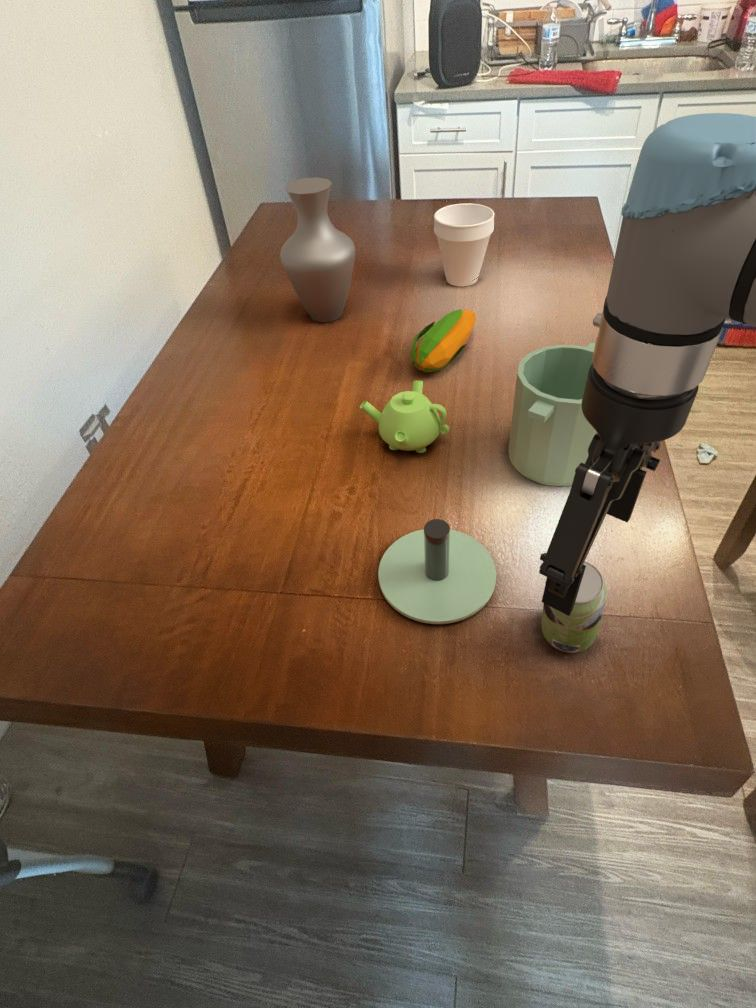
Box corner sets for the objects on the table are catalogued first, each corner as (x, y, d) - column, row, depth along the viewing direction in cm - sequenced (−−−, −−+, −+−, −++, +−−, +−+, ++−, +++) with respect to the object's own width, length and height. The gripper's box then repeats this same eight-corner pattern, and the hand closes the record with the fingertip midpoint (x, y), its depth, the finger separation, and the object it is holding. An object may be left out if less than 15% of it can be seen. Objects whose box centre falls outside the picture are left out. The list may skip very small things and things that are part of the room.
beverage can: (601, 623, 70) (624, 558, 61) (581, 675, 65) (603, 612, 57) (548, 602, 72) (563, 536, 64) (526, 650, 68) (539, 586, 59)
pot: (624, 436, 92) (648, 352, 82) (570, 511, 82) (589, 427, 72) (542, 407, 98) (554, 326, 88) (482, 474, 88) (488, 392, 78)
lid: (517, 565, 76) (524, 515, 70) (455, 648, 69) (457, 601, 62) (421, 518, 83) (420, 468, 77) (355, 589, 75) (347, 541, 69)
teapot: (460, 445, 93) (462, 400, 87) (398, 474, 90) (395, 429, 84) (420, 409, 100) (419, 365, 94) (360, 435, 97) (355, 391, 91)
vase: (318, 340, 118) (297, 206, 100) (278, 315, 126) (252, 186, 108) (375, 313, 124) (365, 182, 106) (334, 291, 132) (318, 165, 114)
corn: (399, 337, 102) (455, 286, 113) (398, 374, 107) (452, 323, 119) (438, 350, 99) (491, 297, 110) (435, 388, 105) (486, 334, 116)
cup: (423, 275, 134) (422, 211, 125) (471, 262, 137) (474, 198, 128) (451, 297, 126) (452, 231, 116) (501, 283, 129) (506, 216, 120)
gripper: (654, 287, 51) (603, 469, 67) (512, 448, 38) (489, 630, 54) (749, 309, 48) (672, 496, 63) (629, 495, 35) (568, 674, 50)
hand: (588, 558), depth 59 cm, fingers open, 13 cm apart
